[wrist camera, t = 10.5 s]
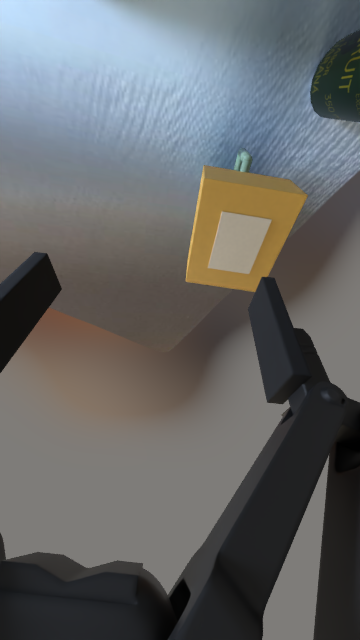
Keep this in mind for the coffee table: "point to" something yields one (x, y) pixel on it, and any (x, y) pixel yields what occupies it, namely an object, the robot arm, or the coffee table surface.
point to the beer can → (339, 81)
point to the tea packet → (240, 227)
